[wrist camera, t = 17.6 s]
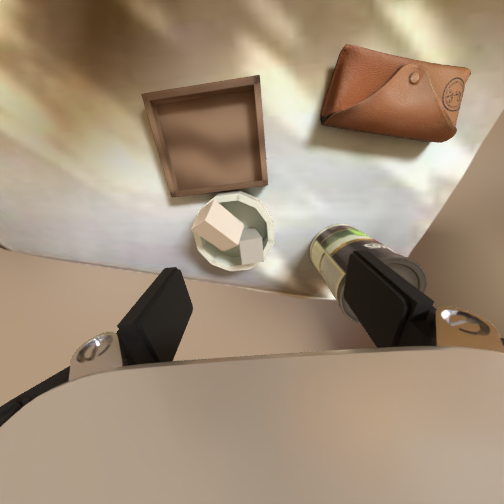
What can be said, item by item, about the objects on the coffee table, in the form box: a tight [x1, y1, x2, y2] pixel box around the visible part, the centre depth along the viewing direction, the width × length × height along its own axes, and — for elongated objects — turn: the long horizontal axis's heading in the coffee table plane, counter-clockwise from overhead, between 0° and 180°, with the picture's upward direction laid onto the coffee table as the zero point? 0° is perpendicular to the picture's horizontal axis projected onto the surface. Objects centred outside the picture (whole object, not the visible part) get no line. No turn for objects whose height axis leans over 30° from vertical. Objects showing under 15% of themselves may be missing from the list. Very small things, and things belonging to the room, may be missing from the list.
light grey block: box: [238, 227, 264, 265], centre depth 30 cm, size 4×4×6 cm
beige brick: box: [191, 199, 244, 251], centre depth 27 cm, size 4×4×6 cm
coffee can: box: [310, 224, 427, 324], centre depth 29 cm, size 10×10×14 cm
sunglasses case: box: [320, 44, 471, 142], centre depth 24 cm, size 18×7×7 cm
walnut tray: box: [142, 75, 268, 197], centre depth 27 cm, size 13×16×2 cm
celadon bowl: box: [193, 191, 275, 271], centre depth 31 cm, size 13×13×4 cm
